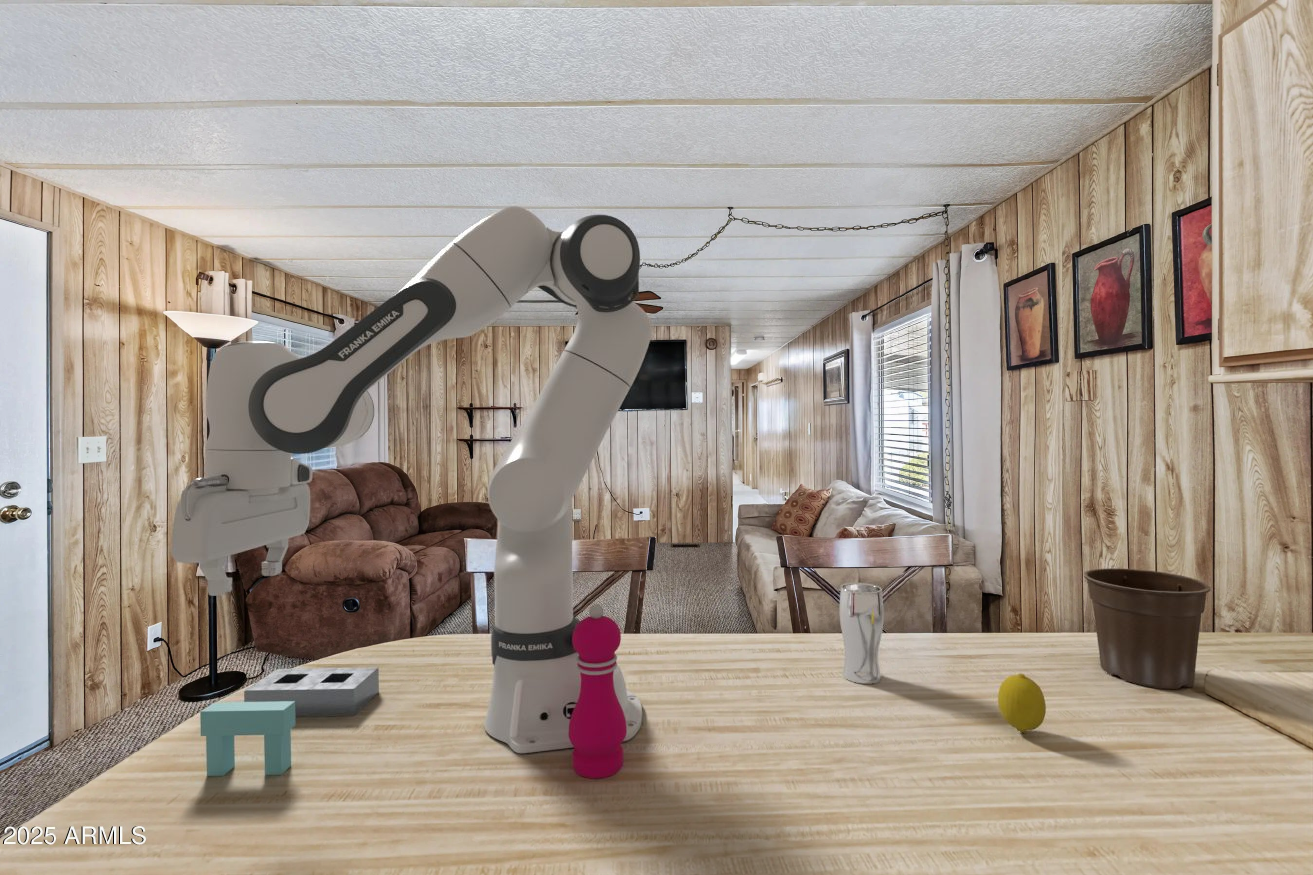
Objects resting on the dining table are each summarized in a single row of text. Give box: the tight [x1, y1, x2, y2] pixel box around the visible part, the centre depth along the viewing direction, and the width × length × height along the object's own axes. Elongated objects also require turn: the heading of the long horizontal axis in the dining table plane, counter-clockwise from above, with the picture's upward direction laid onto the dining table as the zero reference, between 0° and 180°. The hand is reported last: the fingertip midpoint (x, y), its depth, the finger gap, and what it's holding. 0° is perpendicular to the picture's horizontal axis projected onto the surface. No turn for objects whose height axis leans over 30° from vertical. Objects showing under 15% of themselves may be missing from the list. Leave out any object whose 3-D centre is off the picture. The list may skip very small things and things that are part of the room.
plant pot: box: [1083, 567, 1211, 690], centre depth 99 cm, size 16×16×16 cm
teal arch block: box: [199, 701, 297, 777], centre depth 74 cm, size 10×2×8 cm, turn 91°
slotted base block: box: [243, 666, 380, 718], centre depth 92 cm, size 16×8×4 cm, turn 91°
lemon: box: [997, 673, 1047, 733], centre depth 81 cm, size 6×6×8 cm
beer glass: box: [839, 582, 884, 685], centre depth 100 cm, size 7×7×15 cm
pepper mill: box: [568, 603, 627, 779], centre depth 74 cm, size 7×7×20 cm
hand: (247, 583), depth 74 cm, fingers open, 8 cm apart
